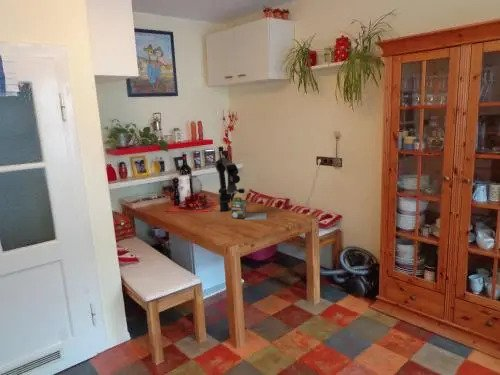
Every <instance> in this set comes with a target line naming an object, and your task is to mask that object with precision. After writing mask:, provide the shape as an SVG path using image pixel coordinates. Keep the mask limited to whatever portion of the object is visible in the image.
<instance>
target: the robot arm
mask: <svg viewBox="0 0 500 375" xmlns="http://www.w3.org/2000/svg"><path fill="white" fill-rule="evenodd" d="M214 166H215V170H216V171H217V173H218V178H219V187H220V188H219V189H218V199H217V203H218V204H219V208H220V209H219V212H229V210H230V204H231V203H232V202H233V201H234V198H235V195H237V194H238V193H239V194H244V193H245V191H246V190H245V188H243V187H241V188H238V187H237V184H238V183H240V181H241V178H240V176H239V175H238V174H239V169H238V167H237V165H236V164H235V163H232V162H230V161H229V160H228V158H227V157H219V159H218V160H216V161H215V163H214ZM225 172H226V175H227V182H226V176H225Z"/></svg>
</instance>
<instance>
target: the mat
mask: <svg viewBox="0 0 500 375" xmlns="http://www.w3.org/2000/svg"><path fill="white" fill-rule="evenodd" d="M267 213H268V212H259V213H258V212H257V213H255V212H252V213H249V212H248V213H247V212H246V216H245V217H244V218H243V219H244V220H243V221H260V220H261V221H262V220H264V221H265V220H267V217H268V214H267Z"/></svg>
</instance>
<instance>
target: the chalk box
mask: <svg viewBox="0 0 500 375" xmlns="http://www.w3.org/2000/svg"><path fill="white" fill-rule="evenodd" d="M234 198H235V199H233V201H232V202H230V206H231V208H230V211H231V218H232V219H233V218H234V219H245V216H246V214H247V200H243V199H242V197H234Z"/></svg>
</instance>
